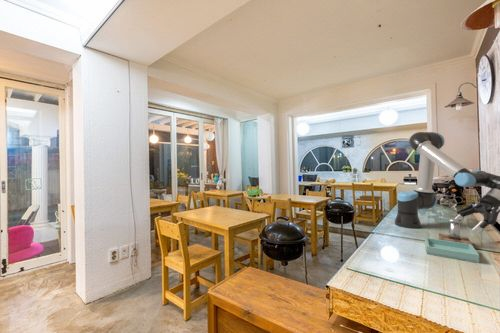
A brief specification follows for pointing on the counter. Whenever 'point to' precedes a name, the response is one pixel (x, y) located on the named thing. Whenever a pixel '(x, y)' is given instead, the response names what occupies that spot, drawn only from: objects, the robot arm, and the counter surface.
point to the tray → (451, 250)
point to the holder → (447, 238)
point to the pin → (455, 228)
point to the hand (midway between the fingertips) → (462, 227)
